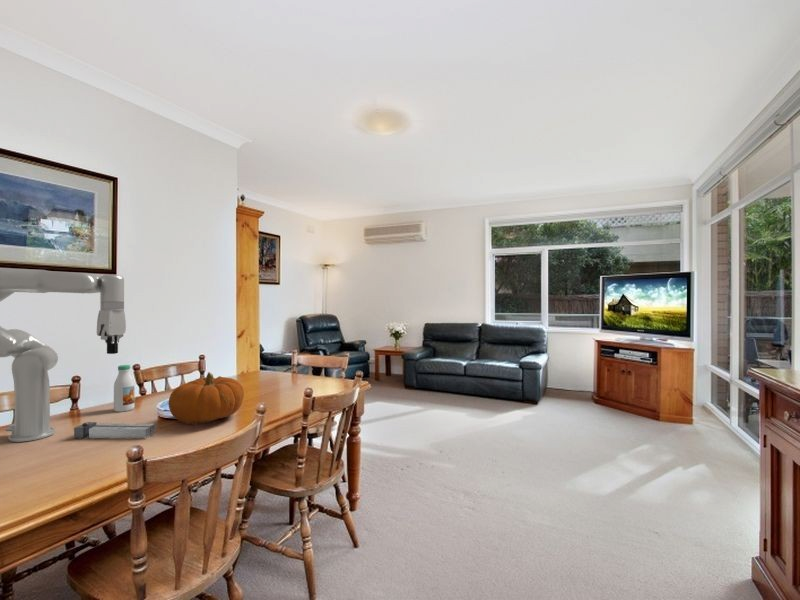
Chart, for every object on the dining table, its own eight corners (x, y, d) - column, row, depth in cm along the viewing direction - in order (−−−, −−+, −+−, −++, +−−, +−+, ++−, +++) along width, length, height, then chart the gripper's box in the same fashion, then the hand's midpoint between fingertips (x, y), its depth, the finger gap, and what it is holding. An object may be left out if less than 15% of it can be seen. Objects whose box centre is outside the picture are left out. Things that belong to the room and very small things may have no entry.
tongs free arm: (95, 434, 147) (95, 425, 147) (100, 432, 150) (100, 423, 150) (150, 435, 147) (150, 425, 147) (154, 433, 149) (154, 423, 149)
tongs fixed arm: (74, 438, 144) (74, 426, 144) (88, 432, 150) (88, 420, 150) (144, 439, 144) (144, 426, 144) (155, 433, 150) (155, 421, 150)
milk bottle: (114, 413, 174) (114, 367, 174) (112, 409, 180) (112, 365, 180) (135, 410, 180) (135, 365, 179) (133, 406, 185) (133, 363, 185)
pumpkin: (237, 406, 186) (237, 364, 186) (250, 423, 163) (250, 374, 163) (167, 416, 171) (167, 369, 171) (170, 435, 148) (170, 382, 148)
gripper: (116, 305, 163) (116, 350, 163) (87, 307, 148) (87, 356, 148) (134, 306, 163) (134, 350, 163) (107, 307, 148) (108, 356, 148)
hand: (112, 353), depth 155 cm, fingers closed
